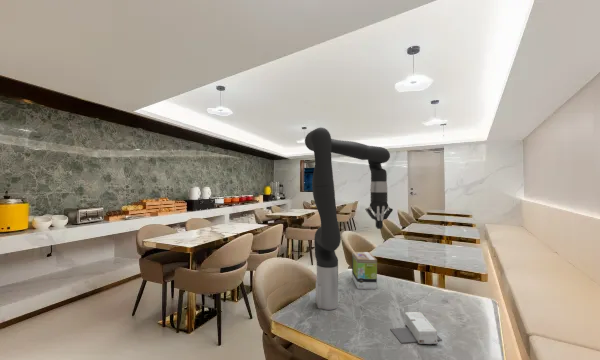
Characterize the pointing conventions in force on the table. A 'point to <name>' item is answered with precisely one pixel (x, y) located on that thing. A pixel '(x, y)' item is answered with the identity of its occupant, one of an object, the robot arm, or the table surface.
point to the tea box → (364, 270)
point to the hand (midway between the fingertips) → (379, 228)
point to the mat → (406, 335)
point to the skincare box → (421, 328)
